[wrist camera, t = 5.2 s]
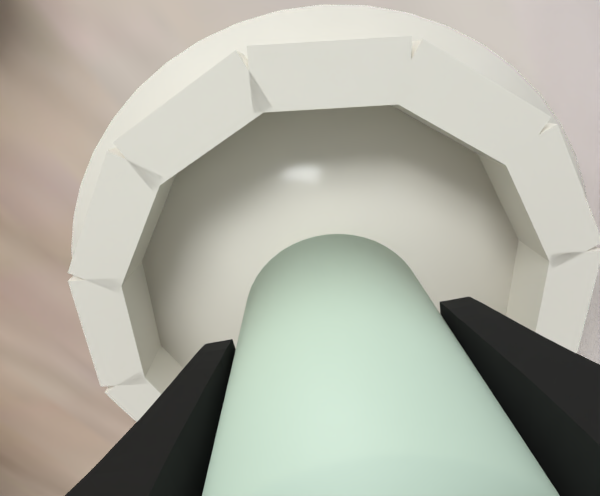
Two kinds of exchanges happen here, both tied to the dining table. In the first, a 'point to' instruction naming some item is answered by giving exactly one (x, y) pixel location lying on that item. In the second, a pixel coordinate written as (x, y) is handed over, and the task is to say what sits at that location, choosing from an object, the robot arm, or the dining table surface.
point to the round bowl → (322, 184)
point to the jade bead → (358, 389)
